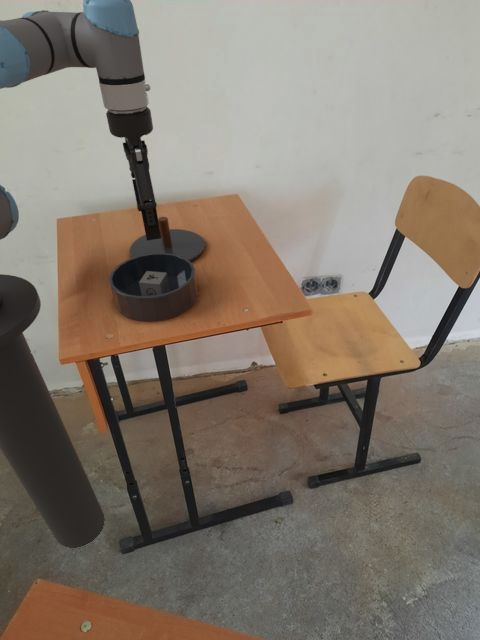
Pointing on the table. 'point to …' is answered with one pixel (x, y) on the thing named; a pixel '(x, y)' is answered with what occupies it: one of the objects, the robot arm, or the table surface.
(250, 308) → the table surface
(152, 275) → the dice cube
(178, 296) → the pot
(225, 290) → the table surface
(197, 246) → the lid
